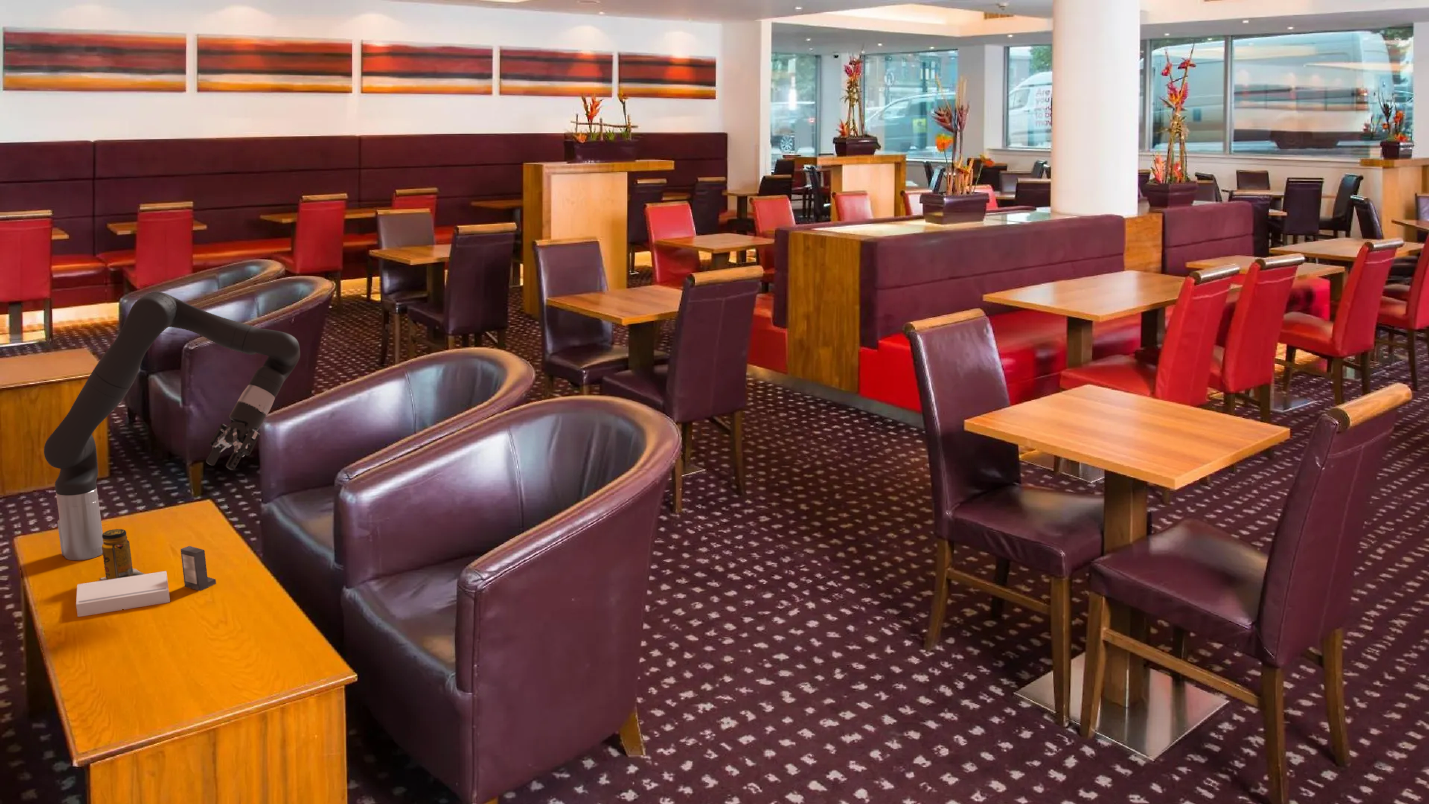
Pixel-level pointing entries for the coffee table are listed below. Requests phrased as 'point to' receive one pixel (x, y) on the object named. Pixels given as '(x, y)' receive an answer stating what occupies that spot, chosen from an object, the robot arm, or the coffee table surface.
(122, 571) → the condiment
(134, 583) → the board
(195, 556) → the dark block with lip
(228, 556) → the coffee table surface
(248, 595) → the coffee table surface
